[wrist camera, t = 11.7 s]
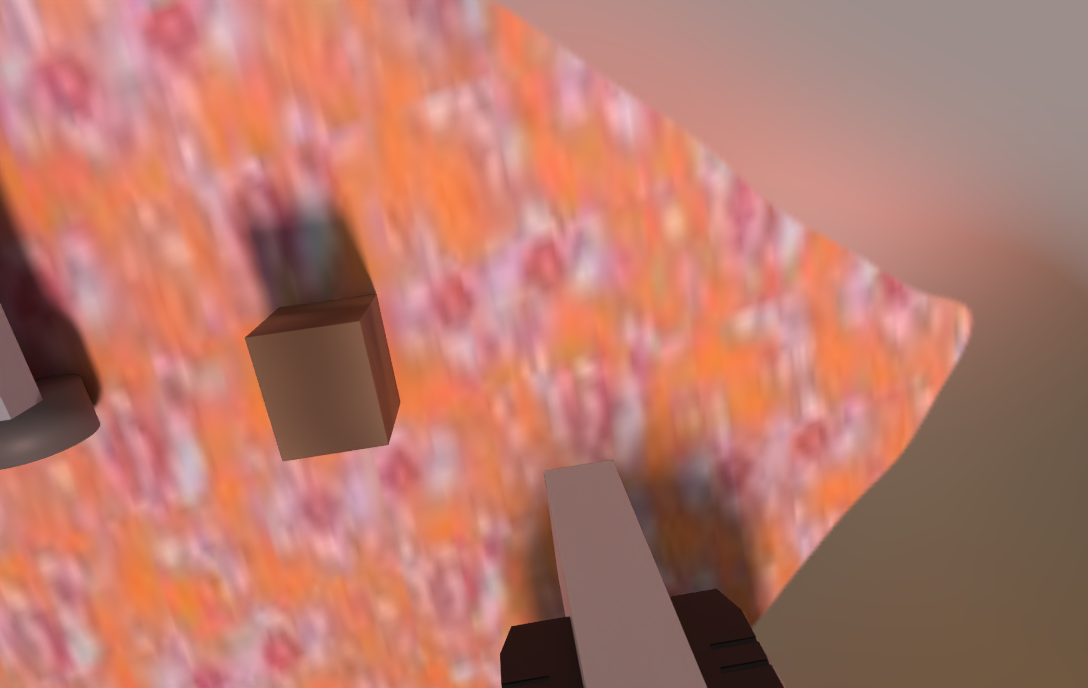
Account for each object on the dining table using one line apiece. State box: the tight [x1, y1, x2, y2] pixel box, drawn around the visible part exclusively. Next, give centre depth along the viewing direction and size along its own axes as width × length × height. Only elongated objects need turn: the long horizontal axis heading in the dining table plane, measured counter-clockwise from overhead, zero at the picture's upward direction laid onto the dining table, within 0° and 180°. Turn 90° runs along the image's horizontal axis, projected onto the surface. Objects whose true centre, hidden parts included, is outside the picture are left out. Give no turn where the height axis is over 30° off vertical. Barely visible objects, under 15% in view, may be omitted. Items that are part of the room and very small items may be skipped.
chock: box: [245, 294, 400, 461], centre depth 24 cm, size 4×5×4 cm
